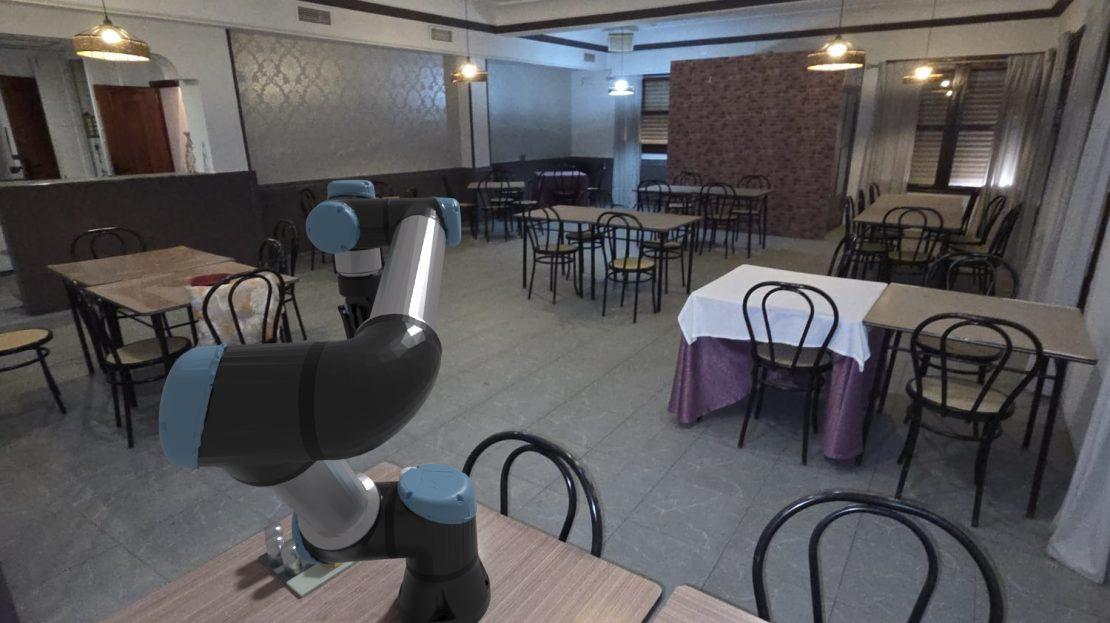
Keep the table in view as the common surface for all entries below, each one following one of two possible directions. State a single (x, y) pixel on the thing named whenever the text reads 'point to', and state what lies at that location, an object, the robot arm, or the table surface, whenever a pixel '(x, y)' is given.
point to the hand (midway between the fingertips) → (372, 395)
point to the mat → (306, 574)
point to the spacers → (281, 550)
